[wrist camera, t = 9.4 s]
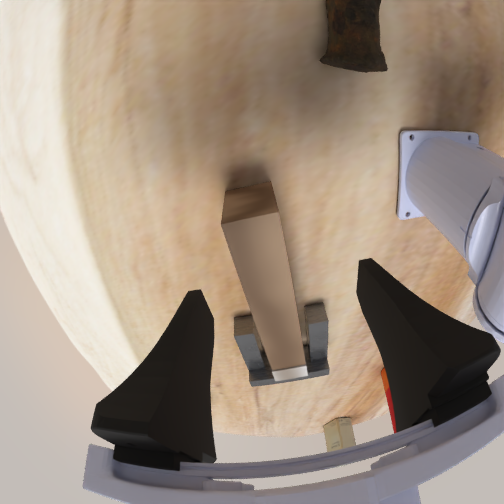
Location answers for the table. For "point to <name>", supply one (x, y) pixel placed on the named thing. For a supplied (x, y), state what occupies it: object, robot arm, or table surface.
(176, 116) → the table surface
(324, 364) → the u-shaped metal bracket
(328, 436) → the skincare box
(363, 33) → the hand tool
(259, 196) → the walnut rail
